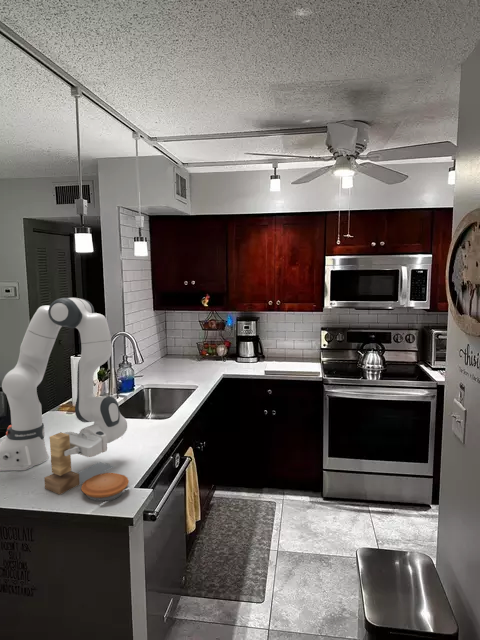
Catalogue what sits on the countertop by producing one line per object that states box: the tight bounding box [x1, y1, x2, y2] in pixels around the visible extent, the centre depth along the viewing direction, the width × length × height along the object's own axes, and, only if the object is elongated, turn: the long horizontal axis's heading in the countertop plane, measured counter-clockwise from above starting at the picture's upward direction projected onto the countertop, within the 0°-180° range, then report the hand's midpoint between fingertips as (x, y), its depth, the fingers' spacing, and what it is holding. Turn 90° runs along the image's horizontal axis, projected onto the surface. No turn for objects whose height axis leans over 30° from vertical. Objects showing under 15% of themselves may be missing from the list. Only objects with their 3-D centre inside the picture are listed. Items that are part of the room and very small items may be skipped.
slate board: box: [61, 461, 116, 495], centre depth 163 cm, size 24×8×1 cm, turn 149°
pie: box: [81, 472, 130, 503], centre depth 153 cm, size 15×16×5 cm
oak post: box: [49, 431, 72, 476], centre depth 155 cm, size 4×4×13 cm
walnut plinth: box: [43, 470, 81, 495], centre depth 156 cm, size 8×8×4 cm
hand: (58, 451), depth 154 cm, fingers closed on oak post, 4 cm apart
